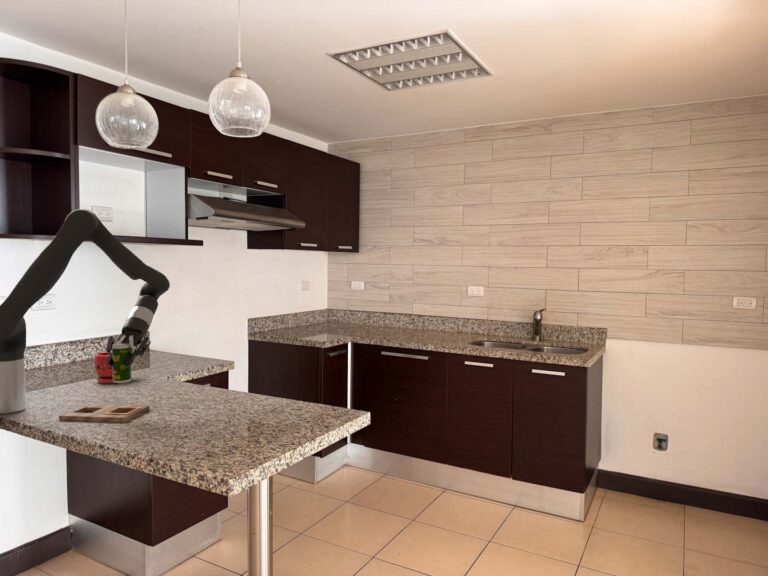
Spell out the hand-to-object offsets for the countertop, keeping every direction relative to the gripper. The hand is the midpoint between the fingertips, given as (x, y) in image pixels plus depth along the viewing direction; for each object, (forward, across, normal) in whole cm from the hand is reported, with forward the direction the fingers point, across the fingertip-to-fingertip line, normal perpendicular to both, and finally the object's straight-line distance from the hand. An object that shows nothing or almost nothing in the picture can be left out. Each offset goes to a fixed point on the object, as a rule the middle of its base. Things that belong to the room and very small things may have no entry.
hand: (118, 364), depth 175 cm
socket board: (+11, -6, +13) cm, 18 cm away
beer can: (+3, 0, +6) cm, 6 cm away
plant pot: (-23, -35, +47) cm, 63 cm away
